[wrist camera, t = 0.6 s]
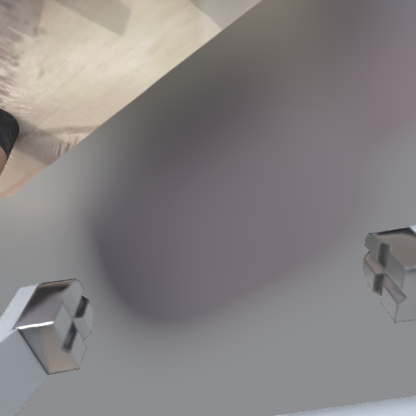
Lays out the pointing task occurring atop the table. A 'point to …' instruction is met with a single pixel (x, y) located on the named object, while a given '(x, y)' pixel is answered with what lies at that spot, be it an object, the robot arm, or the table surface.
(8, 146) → the travel mug
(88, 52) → the table surface
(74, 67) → the table surface
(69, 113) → the table surface
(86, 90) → the table surface
